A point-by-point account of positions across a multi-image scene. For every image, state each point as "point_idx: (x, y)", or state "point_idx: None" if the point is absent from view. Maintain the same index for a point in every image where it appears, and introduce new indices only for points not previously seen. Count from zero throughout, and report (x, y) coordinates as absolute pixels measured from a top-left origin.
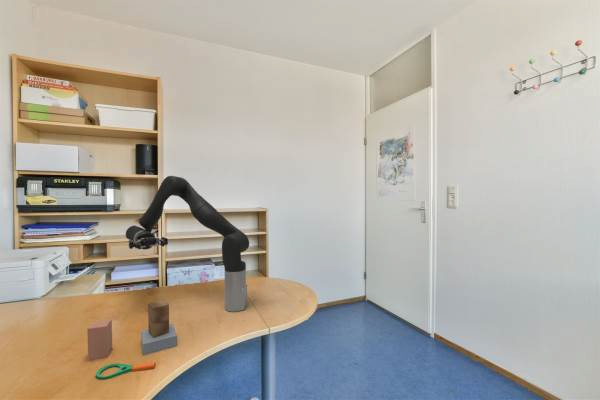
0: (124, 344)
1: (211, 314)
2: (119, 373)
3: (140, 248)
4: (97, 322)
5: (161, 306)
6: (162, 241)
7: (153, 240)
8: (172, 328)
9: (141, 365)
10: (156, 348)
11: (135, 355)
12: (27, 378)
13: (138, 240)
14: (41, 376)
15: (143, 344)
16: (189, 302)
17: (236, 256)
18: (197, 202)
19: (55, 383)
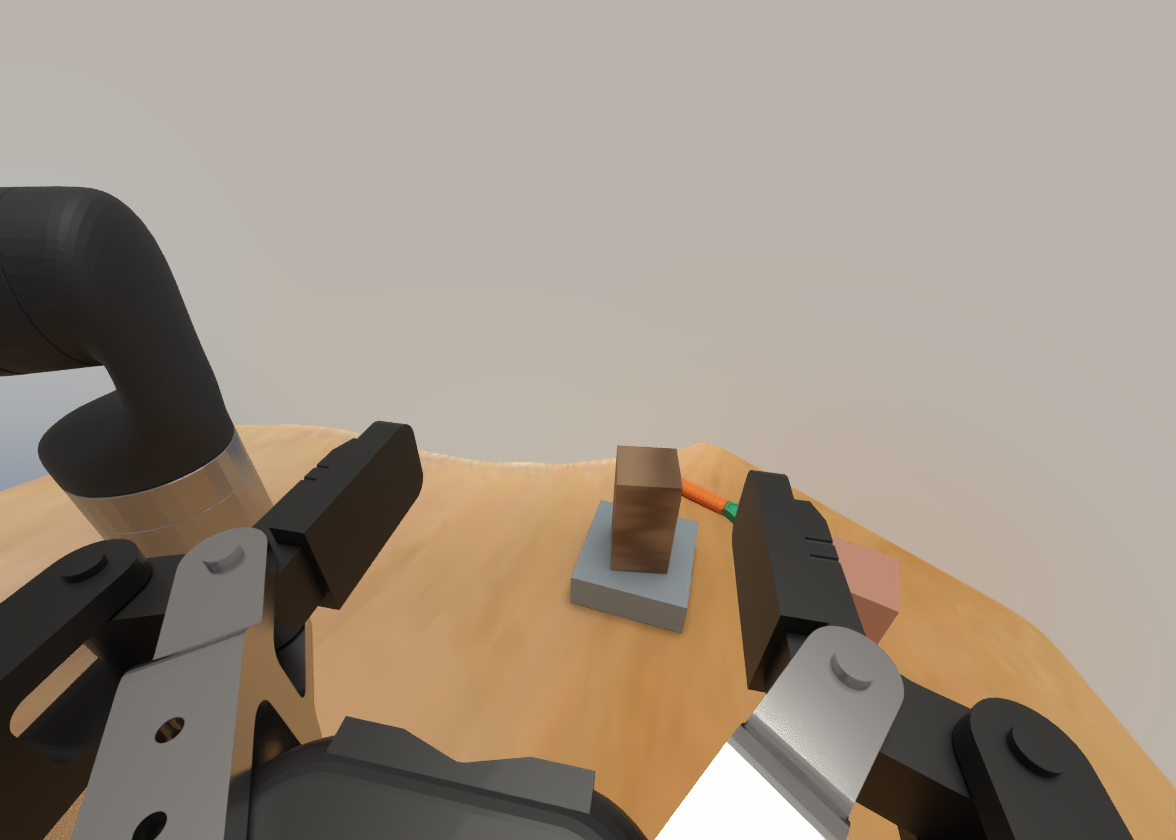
0: (740, 653)
1: (365, 627)
2: None
3: (738, 520)
4: (875, 588)
5: (645, 448)
6: (400, 424)
7: (315, 744)
8: (590, 543)
9: (707, 492)
10: None
11: (711, 560)
12: (1027, 670)
13: (814, 792)
14: (979, 648)
15: (696, 522)
16: None
17: (194, 329)
18: None
19: (910, 582)
